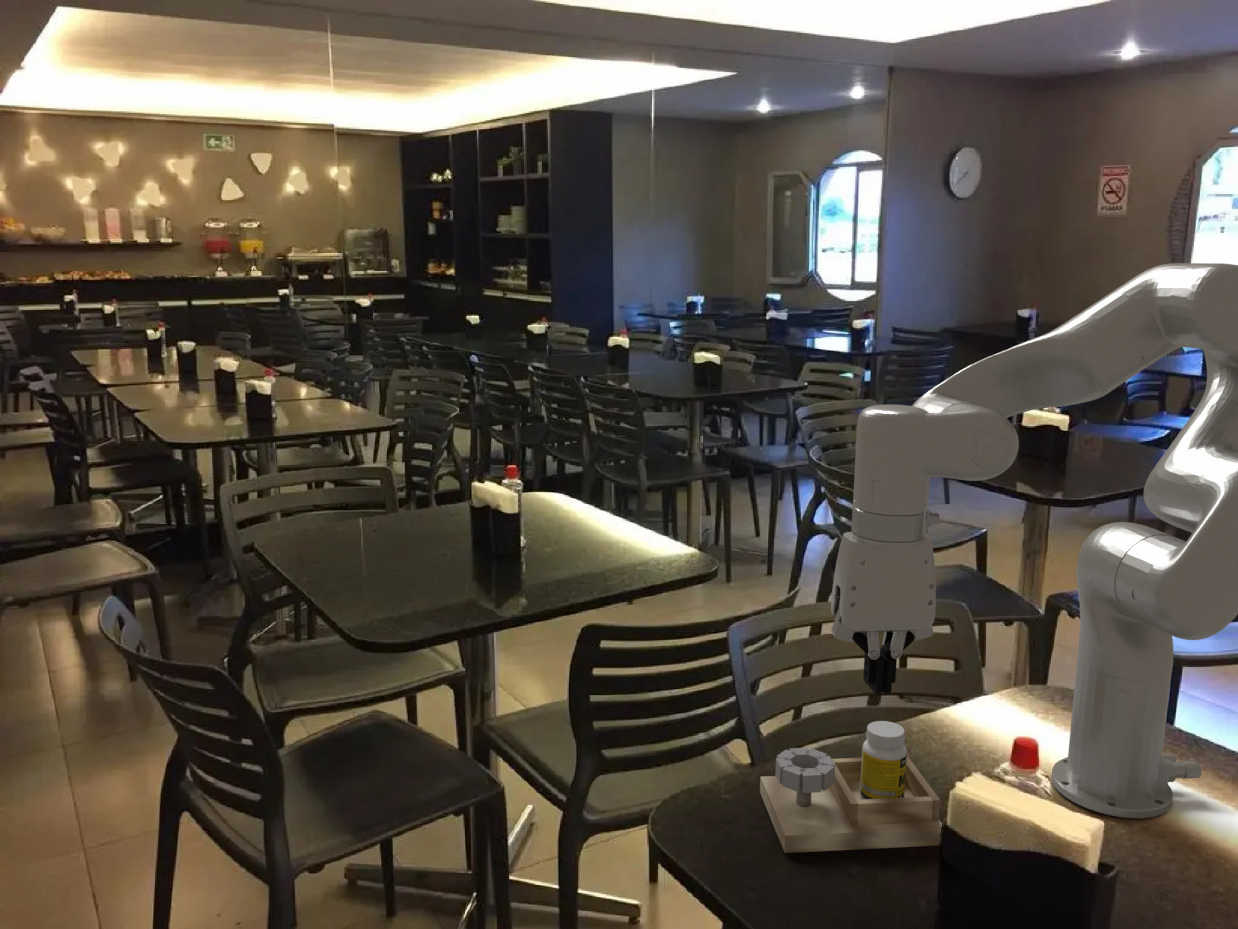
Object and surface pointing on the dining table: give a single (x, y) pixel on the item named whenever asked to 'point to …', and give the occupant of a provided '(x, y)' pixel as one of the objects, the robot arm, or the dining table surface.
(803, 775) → the wheel
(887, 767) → the supplement bottle
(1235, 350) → the robot arm
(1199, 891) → the dining table surface
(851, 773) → the wooden peg tray
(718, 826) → the dining table surface
